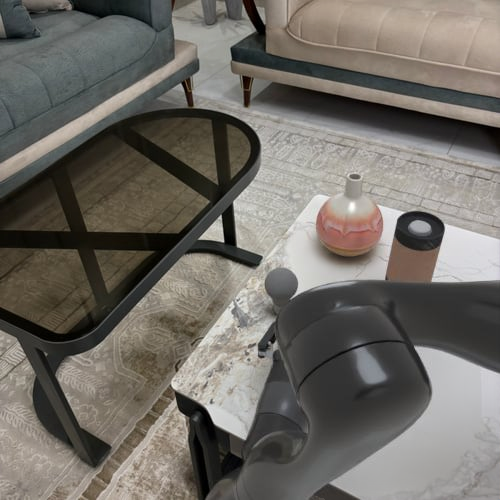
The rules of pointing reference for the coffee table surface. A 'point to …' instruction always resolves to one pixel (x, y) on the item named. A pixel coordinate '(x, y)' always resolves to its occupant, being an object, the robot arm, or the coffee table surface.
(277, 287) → the light bulb
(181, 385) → the coffee table surface
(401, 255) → the travel mug
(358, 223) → the vase
